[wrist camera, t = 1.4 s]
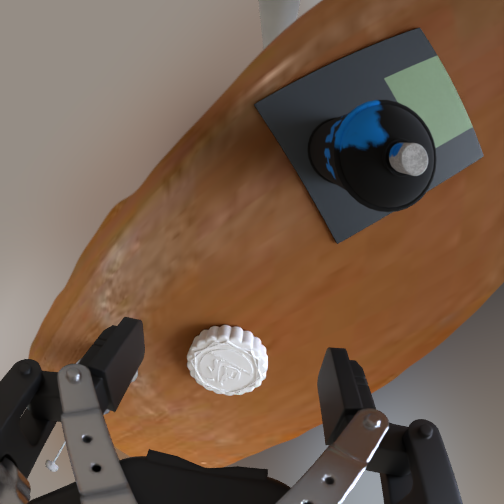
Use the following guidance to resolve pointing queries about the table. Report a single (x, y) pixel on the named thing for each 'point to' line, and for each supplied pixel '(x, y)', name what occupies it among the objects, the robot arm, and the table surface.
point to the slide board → (361, 91)
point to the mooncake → (227, 360)
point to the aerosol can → (376, 155)
